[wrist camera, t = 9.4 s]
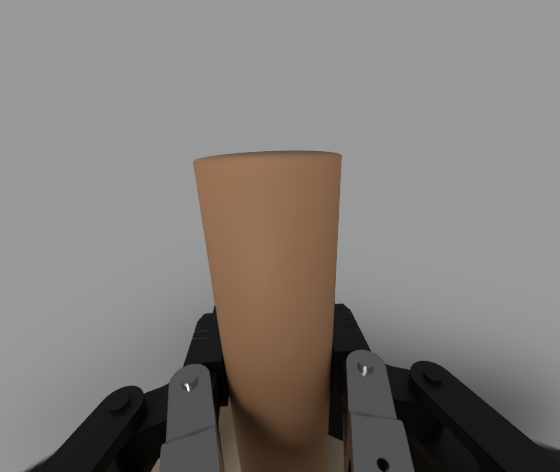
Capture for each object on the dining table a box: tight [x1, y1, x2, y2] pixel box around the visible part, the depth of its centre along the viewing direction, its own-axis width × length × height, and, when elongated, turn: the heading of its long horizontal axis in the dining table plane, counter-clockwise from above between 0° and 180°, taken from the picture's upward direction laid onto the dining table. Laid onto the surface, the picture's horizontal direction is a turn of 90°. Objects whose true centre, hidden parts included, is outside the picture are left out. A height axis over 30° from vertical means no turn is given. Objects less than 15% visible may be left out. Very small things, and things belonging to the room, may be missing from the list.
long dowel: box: [193, 151, 342, 472], centre depth 11 cm, size 4×4×18 cm
